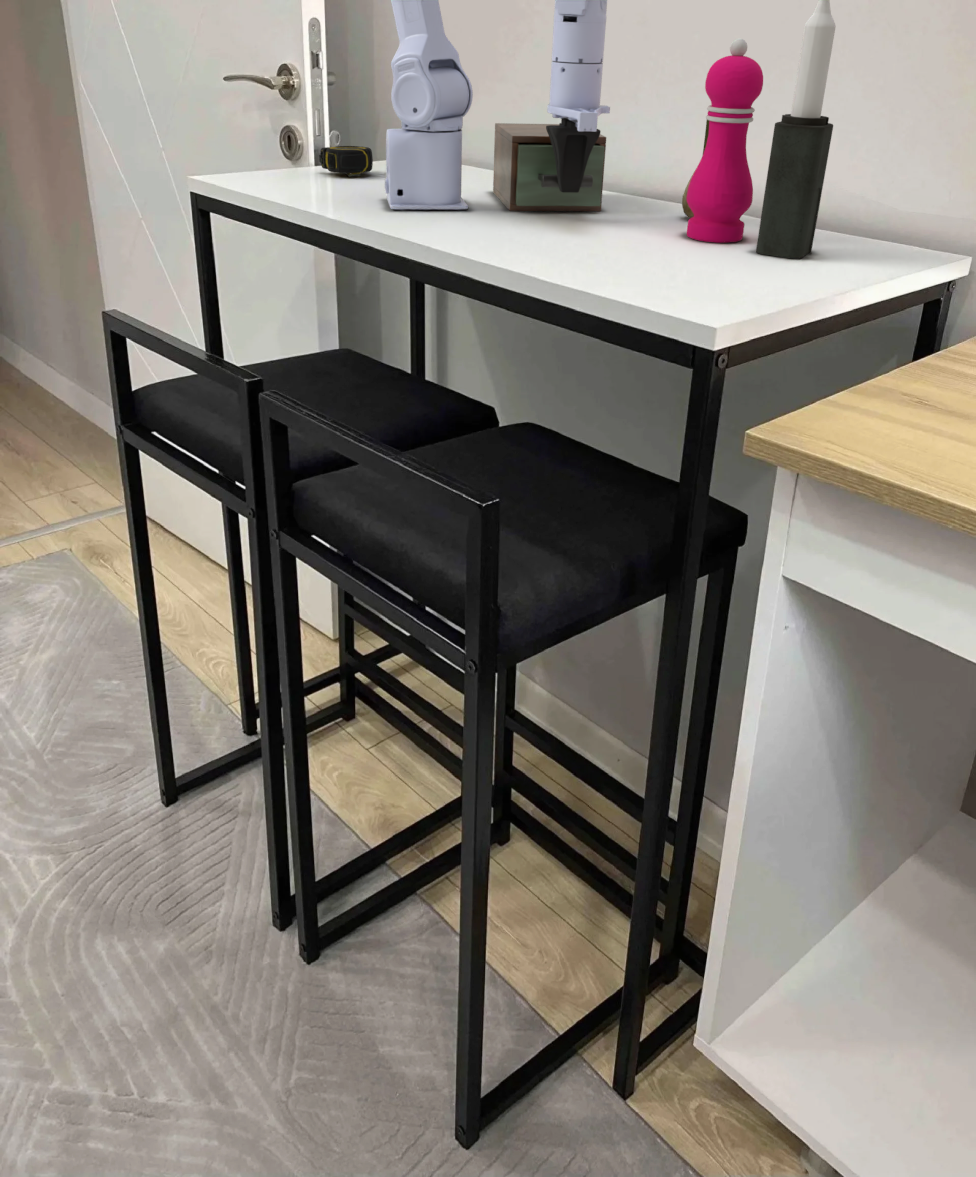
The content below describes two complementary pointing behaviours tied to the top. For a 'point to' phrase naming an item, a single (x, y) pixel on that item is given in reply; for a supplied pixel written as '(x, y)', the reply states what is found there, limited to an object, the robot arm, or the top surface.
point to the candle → (800, 150)
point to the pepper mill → (725, 150)
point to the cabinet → (507, 163)
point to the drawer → (554, 178)
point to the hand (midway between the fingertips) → (569, 191)
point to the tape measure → (346, 159)
